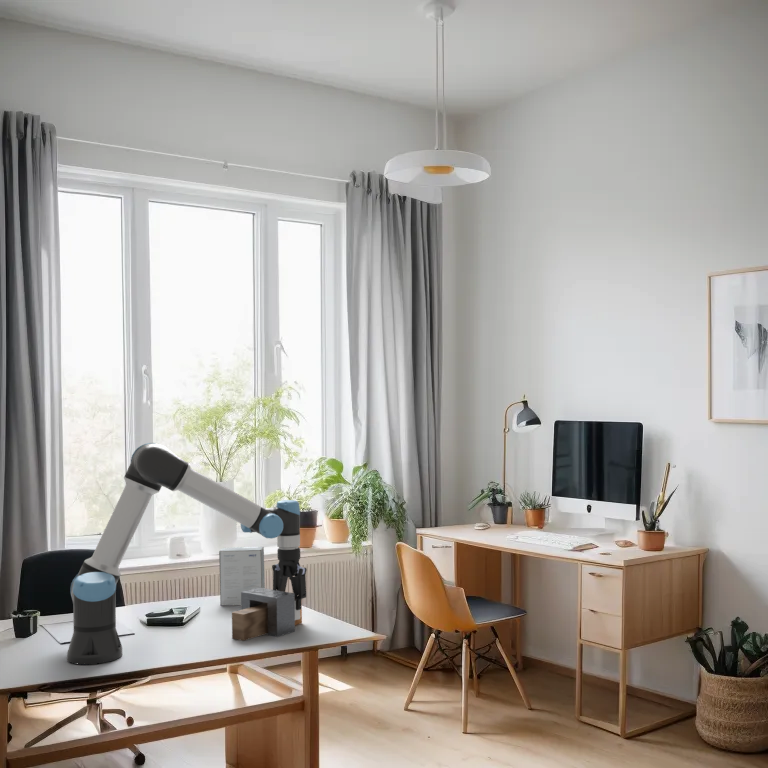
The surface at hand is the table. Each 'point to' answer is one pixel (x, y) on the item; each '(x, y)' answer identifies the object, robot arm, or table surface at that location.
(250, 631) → the bar
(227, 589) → the hard drive box
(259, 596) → the socket housing
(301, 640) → the table surface
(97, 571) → the robot arm
